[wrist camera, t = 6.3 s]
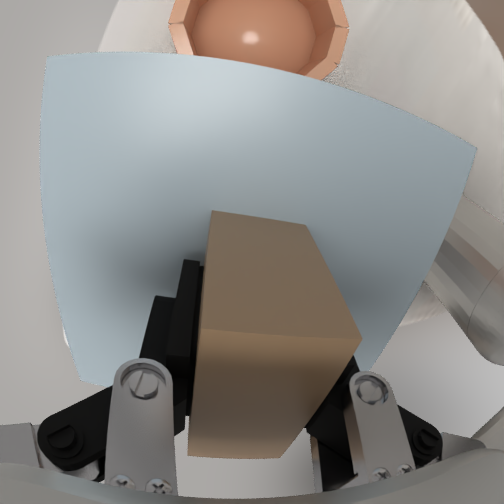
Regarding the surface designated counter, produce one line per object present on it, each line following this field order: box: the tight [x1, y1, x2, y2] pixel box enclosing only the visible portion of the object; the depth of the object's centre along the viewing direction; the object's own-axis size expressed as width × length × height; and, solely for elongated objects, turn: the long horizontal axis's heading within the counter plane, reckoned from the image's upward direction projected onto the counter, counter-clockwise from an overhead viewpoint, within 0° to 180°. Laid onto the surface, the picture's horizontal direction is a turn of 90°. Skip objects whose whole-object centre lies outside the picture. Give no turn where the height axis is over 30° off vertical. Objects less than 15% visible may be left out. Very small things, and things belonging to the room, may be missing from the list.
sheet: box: [40, 52, 477, 459], centre depth 9 cm, size 15×15×6 cm
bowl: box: [168, 0, 349, 80], centre depth 18 cm, size 12×12×6 cm
